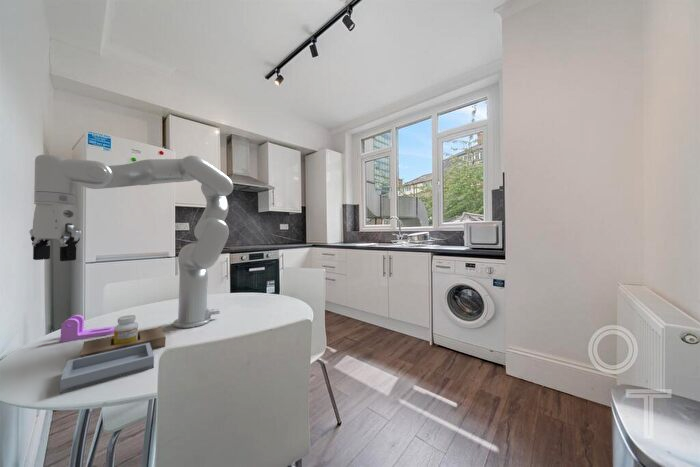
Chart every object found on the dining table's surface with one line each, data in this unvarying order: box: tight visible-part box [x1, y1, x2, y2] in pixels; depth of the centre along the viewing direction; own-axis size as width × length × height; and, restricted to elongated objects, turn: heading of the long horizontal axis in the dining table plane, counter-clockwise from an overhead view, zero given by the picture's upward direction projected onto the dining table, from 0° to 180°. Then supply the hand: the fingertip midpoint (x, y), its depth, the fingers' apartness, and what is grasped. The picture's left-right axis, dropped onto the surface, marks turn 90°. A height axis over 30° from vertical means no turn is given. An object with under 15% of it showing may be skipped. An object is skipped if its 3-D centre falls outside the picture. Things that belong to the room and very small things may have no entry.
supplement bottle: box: [113, 314, 139, 345], centre depth 74 cm, size 5×5×10 cm
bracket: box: [60, 314, 117, 343], centre depth 84 cm, size 13×6×7 cm, turn 123°
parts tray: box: [59, 343, 155, 394], centre depth 63 cm, size 16×11×3 cm
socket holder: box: [79, 326, 166, 358], centre depth 74 cm, size 18×11×3 cm, turn 134°
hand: (54, 260), depth 70 cm, fingers open, 9 cm apart
